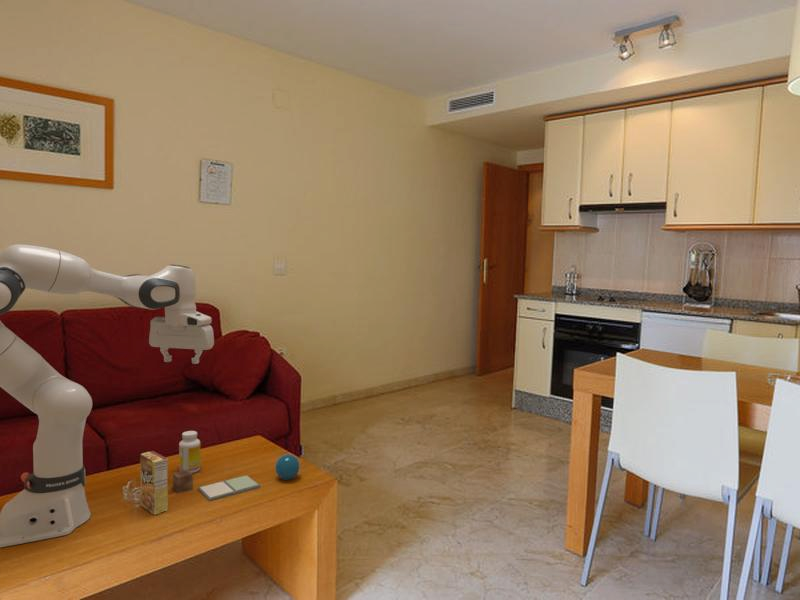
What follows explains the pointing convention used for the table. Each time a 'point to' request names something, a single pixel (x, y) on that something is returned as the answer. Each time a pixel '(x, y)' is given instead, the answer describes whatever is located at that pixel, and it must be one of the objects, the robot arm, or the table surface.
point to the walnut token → (182, 481)
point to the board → (228, 487)
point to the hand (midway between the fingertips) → (181, 362)
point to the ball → (287, 466)
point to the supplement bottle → (189, 452)
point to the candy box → (154, 482)
